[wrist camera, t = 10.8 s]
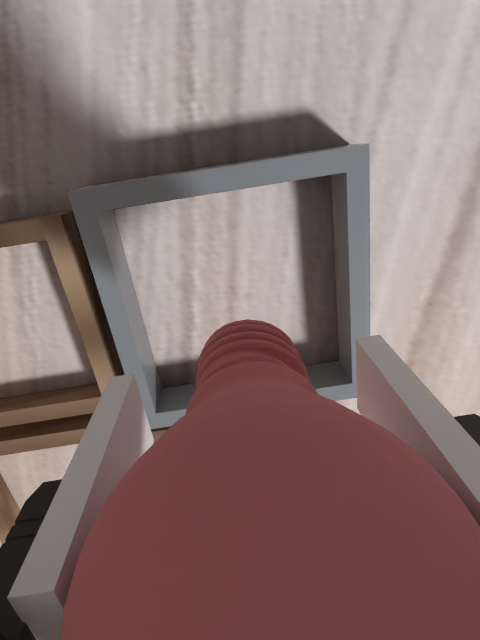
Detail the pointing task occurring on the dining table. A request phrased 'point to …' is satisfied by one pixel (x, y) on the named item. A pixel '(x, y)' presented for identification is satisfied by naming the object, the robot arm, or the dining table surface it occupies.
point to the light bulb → (276, 520)
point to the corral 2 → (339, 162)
